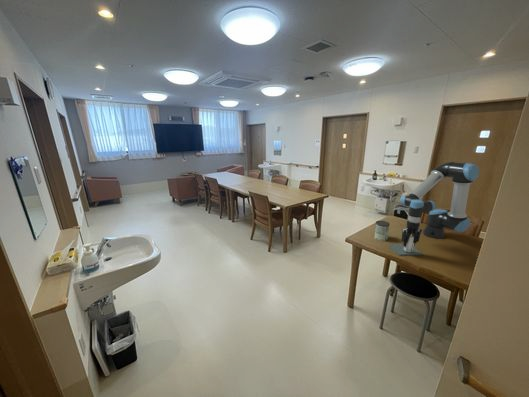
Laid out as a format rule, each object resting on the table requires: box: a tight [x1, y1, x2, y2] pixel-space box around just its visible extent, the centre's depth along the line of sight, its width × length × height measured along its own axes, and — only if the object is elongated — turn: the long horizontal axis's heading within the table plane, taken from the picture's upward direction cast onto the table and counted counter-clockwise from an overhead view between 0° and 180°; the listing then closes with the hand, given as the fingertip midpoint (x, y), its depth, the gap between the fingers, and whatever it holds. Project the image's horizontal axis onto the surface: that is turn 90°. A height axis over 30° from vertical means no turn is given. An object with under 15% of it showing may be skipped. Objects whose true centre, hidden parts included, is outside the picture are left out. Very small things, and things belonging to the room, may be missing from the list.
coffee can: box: [373, 220, 391, 242], centre depth 181 cm, size 10×10×14 cm
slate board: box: [388, 243, 423, 257], centre depth 163 cm, size 17×14×1 cm
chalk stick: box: [406, 234, 414, 252], centre depth 157 cm, size 4×4×12 cm
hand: (408, 250), depth 158 cm, fingers closed on chalk stick, 4 cm apart
